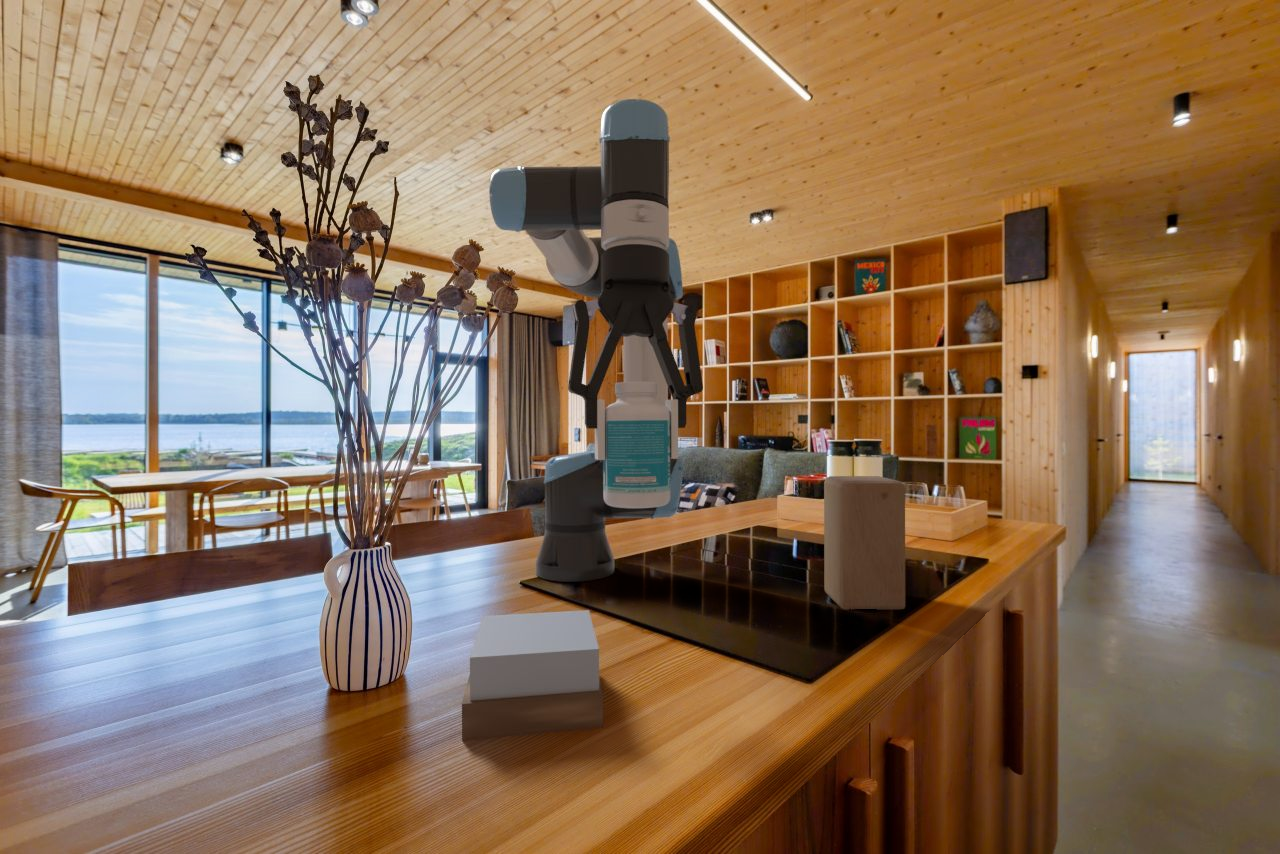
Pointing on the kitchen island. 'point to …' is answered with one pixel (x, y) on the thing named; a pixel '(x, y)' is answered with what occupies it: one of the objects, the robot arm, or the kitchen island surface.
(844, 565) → the wooden block
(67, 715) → the kitchen island surface
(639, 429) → the pill bottle
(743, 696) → the kitchen island surface
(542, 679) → the tower top
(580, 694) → the tower base
